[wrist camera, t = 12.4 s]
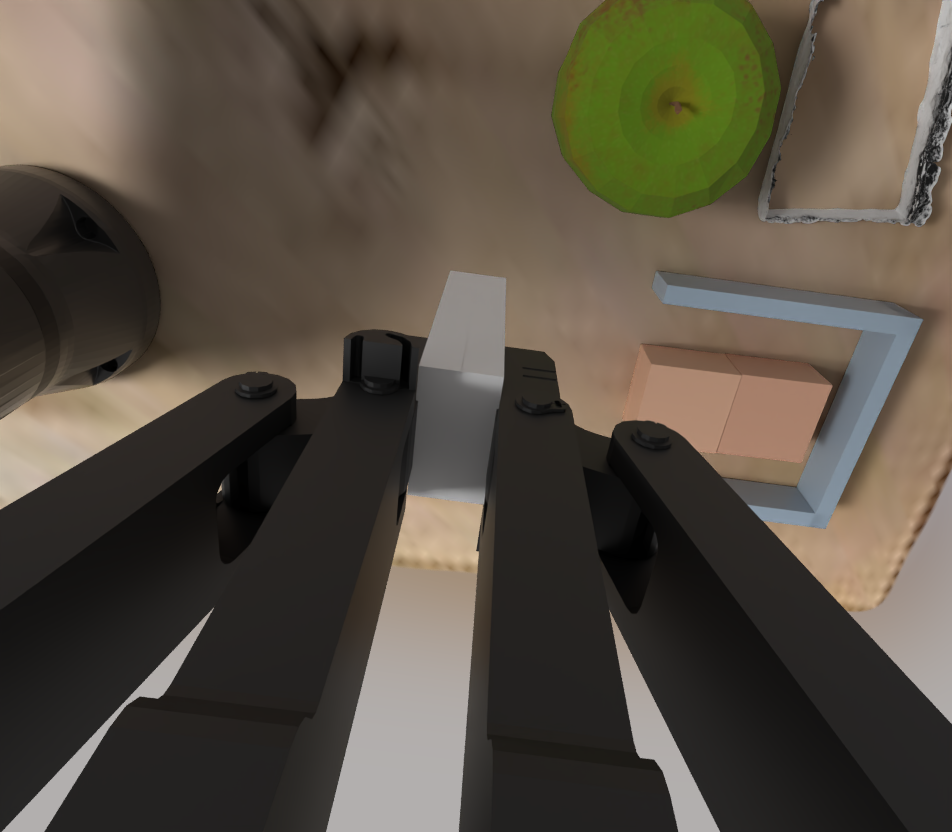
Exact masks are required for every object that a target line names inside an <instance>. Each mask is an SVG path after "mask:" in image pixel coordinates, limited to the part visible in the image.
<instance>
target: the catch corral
mask: <svg viewBox="0 0 952 832" xmlns="http://www.w3.org/2000/svg"><path fill="white" fill-rule="evenodd" d="M652 289H653V291H654V292H655V293H656V295H657V296H658V298H659V299H660V300H661V302H662V303H663V304H670V305H678V306H685V307H692V308H700V309H707V310H715V311H722V312H730V313H737V314H745V315H752V316H760V317H767V318H774V319H782V320H789V321H797V322H804V323H812V324H819V325H827V326H834V327H842V328H849V329H856V330H863V332H862V334H861V337H860V339H859V341H858V344H857V346H856V348H855V351H854V353H853V356H852V358H851V360H850V363H849V365H848V367H847V370H846V372H845V374H844V377H843V379H842V381H841V384H840V386H839V388H838V391H837V393H836V395H835V398H834V400H833V403H832V405H831V407H830V410H829V412H828V414H827V417H826V419H825V421H824V424H823V426H822V428H821V431H820V433H819V435H818V438H817V440H816V443H815V445H814V447H813V450H812V452H811V454H810V457H809V459H808V461H807V464H806V466H805V468H804V471H803V473H802V475H801V478H800V480H799V483H798V485H797V487H791V486H783V485H775V484H768V483H760V482H752V481H745V480H737V479H729V478H723V479H724V480H725V481H726V482H727V483H728V485H729V486H730V487H731V488H732V489H733V490H734V491H735V492H736V493H737V494H738V495H739V496H740V497H741V499H742V500H743V501H744V502H745V503H746V504H747V505H748V506H749V507H750V508H751V509H752V510H753V511H754V512H755V514H756V515H757V516H758V517H759V518H760V519H761V520H762V521H769V522H776V523H784V524H792V525H800V526H807V527H815V528H823V529H826V527H827V525H828V522H829V520H830V518H831V516H832V514H833V512H834V510H835V507H836V505H837V503H838V501H839V499H840V497H841V495H842V492H843V490H844V488H845V486H846V484H847V482H848V480H849V477H850V475H851V473H852V471H853V469H854V467H855V465H856V462H857V460H858V458H859V456H860V454H861V452H862V450H863V448H864V445H865V443H866V441H867V439H868V437H869V435H870V433H871V430H872V428H873V426H874V424H875V422H876V420H877V418H878V415H879V413H880V411H881V409H882V407H883V405H884V403H885V400H886V398H887V396H888V394H889V392H890V390H891V388H892V385H893V383H894V381H895V379H896V377H897V375H898V373H899V370H900V368H901V366H902V364H903V362H904V360H905V358H906V355H907V353H908V351H909V349H910V347H911V345H912V343H913V340H914V338H915V336H916V334H917V332H918V330H919V328H920V325H921V323H922V321H923V319H922V318H920V317H918V316H916V315H915V314H913V313H911V312H909V311H907V310H906V309H904V308H902V307H900V306H898V305H897V304H895V303H892V302H884V301H877V300H870V299H862V298H855V297H847V296H840V295H833V294H825V293H818V292H810V291H803V290H795V289H788V288H781V287H773V286H766V285H758V284H751V283H744V282H736V281H729V280H721V279H714V278H706V277H699V276H692V275H684V274H677V273H669V272H662V271H656V274H655V277H654V281H653V285H652Z"/></svg>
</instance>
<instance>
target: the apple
mask: <svg viewBox="0 0 952 832" xmlns="http://www.w3.org/2000/svg"><path fill="white" fill-rule="evenodd" d="M780 92H781V85H780V79H779V73H778V68H777V62H776V56H775V51H774V45H773V43H772V41H771V39H770V37H769V35H768V33H767V32H766V30H765V28H764V26H763V24H762V23H761V21H760V19H759V17H758V15H757V13H756V12H755V10H754V8H753V6H752V5H751V4H750V3H749V2H748V1H747V0H605V1H604V2H603V3H602V4H601V5H600V6H599V7H598V8H597V9H595V10H594V11H593V12H592V13H591V14H590V15H589V16H588V17H587V18H586V19H585V20H583V21H582V22H581V23H580V25H579V27H578V30H577V32H576V35H575V37H574V39H573V42H572V44H571V47H570V49H569V51H568V54H567V56H566V58H565V60H564V62H563V64H562V66H561V68H560V70H559V72H558V77H557V83H556V90H555V96H554V102H553V108H552V114H551V116H552V120H553V124H554V128H555V131H556V135H557V139H558V142H559V146H560V150H561V154H562V156H563V158H564V159H565V161H566V162H567V163H568V164H569V166H570V167H571V168H572V169H573V171H574V172H575V173H576V175H577V176H578V177H579V178H580V180H581V181H582V182H583V183H584V185H585V186H586V187H587V189H588V190H589V191H590V192H592V193H593V194H595V195H596V196H598V197H600V198H601V199H603V200H604V201H606V202H607V203H609V204H611V205H612V206H614V207H615V208H617V209H619V210H620V211H622V212H627V213H634V214H641V215H648V216H655V217H663V218H670V217H673V216H676V215H679V214H682V213H685V212H688V211H692V210H695V209H698V208H701V207H704V206H707V205H710V204H711V203H713V202H714V201H715V200H717V199H718V198H719V197H720V196H722V195H723V194H724V193H726V192H727V191H728V190H730V189H731V188H732V187H733V186H735V185H736V184H737V183H739V182H740V181H741V180H742V179H744V178H745V177H746V176H747V175H748V173H749V171H750V170H751V168H752V166H753V165H754V163H755V161H756V160H757V158H758V156H759V154H760V153H761V151H762V149H763V148H764V146H765V144H766V142H767V141H768V139H769V137H770V136H771V132H772V128H773V123H774V119H775V114H776V110H777V105H778V101H779V96H780Z"/></svg>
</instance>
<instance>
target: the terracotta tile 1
mask: <svg viewBox="0 0 952 832" xmlns="http://www.w3.org/2000/svg"><path fill="white" fill-rule="evenodd" d="M741 376H742V375H741V374H740V373H739V371H738V370H737V369H736V368H735V367H734V365H733V364H732V363H731V362H730V360H729V359H728V358H727V357H726V355H725V354H719V353H711V352H703V351H695V350H687V349H679V348H671V347H663V346H656V345H648V344H641V345H640V349H639V353H638V357H637V361H636V365H635V369H634V373H633V377H632V381H631V385H630V389H629V393H628V397H627V401H626V405H625V409H624V413H623V417H622V419H623V421H632V420H639V421H646V420H649V421H654V422H655V423H656V424H657V422H658V423H661V424H664V425H665V426H666V427H668V428H670V429H672V430H674V431H676V432H678V433H679V434H680V435H682V436H683V437H684V438H685V439H687V441H688V442H689V443H690V444H691V445H692V446H693V447H694V448H695V449H696V450H697V451H699V452H707V453H715V454H716V451H717V448H718V445H719V442H720V439H721V436H722V433H723V430H724V427H725V424H726V421H727V418H728V415H729V412H730V409H731V406H732V403H733V400H734V397H735V394H736V391H737V388H738V385H739V382H740V379H741Z"/></svg>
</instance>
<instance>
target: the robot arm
mask: <svg viewBox="0 0 952 832" xmlns="http://www.w3.org/2000/svg"><path fill="white" fill-rule="evenodd" d="M505 309H506V278H503V277H495V276H488V275H480V274H473V273H465V272H458V271H451V270H450V273H449V276H448V279H447V282H446V285H445V288H444V291H443V294H442V297H441V300H440V303H439V306H438V309H437V312H436V315H435V318H434V321H433V324H432V328H431V331H430V334H429V337H428V338H424V337H416V336H409V335H405V334H402V333H398V332H393V331H388V330H362V331H358V332H354V333H351V334H349V335H348V336H346V337H345V338H344V356H343V382H342V383H341V385H340V387H339V389H338V390H337V392H336V394H335V396H333V397H328V398H319V399H296V385H295V384H294V383H293V382H291V381H290V380H289V379H287V378H284V377H282V376H279V375H274V374H268V373H267V372H258V373H256V372H247V373H245V374H241V375H235V376H232V377H229V378H227V379H224V380H222V381H220V382H219V383H217V384H215V385H214V386H212V387H210V388H208V389H207V390H205V391H203V392H202V393H200V394H198V395H196V396H195V397H193V398H191V399H190V400H188V401H186V402H184V403H183V404H181V405H179V406H178V407H176V408H174V409H172V410H171V411H169V412H167V413H166V414H164V415H162V416H160V417H159V418H157V419H155V420H153V421H152V422H150V423H148V424H147V425H145V426H143V427H141V428H140V429H138V430H136V431H135V432H133V433H131V434H129V435H128V436H126V437H124V438H123V439H121V440H119V441H117V442H116V443H114V444H112V445H111V446H109V447H107V448H105V449H104V450H102V451H100V452H99V453H97V454H95V455H93V456H92V457H90V458H88V459H87V460H85V461H83V462H81V463H80V464H78V465H76V466H75V467H73V468H71V469H69V470H68V471H66V472H64V473H63V474H61V475H59V476H57V477H56V478H54V479H52V480H51V481H49V482H47V483H45V484H44V485H42V486H40V487H39V488H37V489H35V490H33V491H32V492H30V493H28V494H26V495H25V496H23V497H21V498H20V499H18V500H16V501H14V502H13V503H11V504H9V505H8V506H6V507H4V508H2V509H1V510H0V832H2V831H3V830H4V829H5V827H6V826H7V825H8V824H9V823H10V822H11V821H12V820H13V819H14V818H15V817H16V816H17V815H18V814H19V813H20V811H22V810H23V808H24V807H25V806H26V805H27V804H28V803H29V802H30V801H31V800H32V799H33V798H34V797H35V796H36V795H37V794H38V792H40V791H41V789H42V788H43V787H44V786H45V785H46V784H47V783H48V782H49V781H50V780H51V779H52V778H53V777H54V776H55V775H56V774H57V772H58V771H59V770H60V769H61V768H62V767H63V766H64V765H65V764H66V763H67V762H68V761H69V760H70V759H71V758H72V757H73V756H74V755H75V754H76V752H77V751H78V750H79V749H80V748H81V747H82V746H83V745H84V744H85V743H86V742H87V741H88V740H89V738H91V737H92V736H93V734H94V733H95V732H96V731H97V730H98V729H99V728H100V727H101V726H102V725H103V724H104V723H105V721H107V720H108V718H110V716H111V715H112V714H113V713H114V712H115V711H116V710H117V709H118V708H119V707H120V706H121V705H122V703H124V702H125V700H127V699H128V697H129V696H130V695H131V694H132V693H133V692H134V691H135V690H136V689H137V688H138V687H139V686H140V685H141V684H142V683H143V682H144V681H145V679H146V678H147V677H148V676H149V675H150V674H151V673H152V672H153V671H154V670H155V669H156V668H157V667H158V666H159V665H160V664H161V662H162V661H163V660H164V659H165V658H166V657H167V656H168V655H169V654H170V653H171V652H172V651H173V650H174V649H175V648H176V647H177V646H178V645H179V644H180V642H181V641H182V640H183V639H184V638H185V637H186V636H187V635H188V634H189V633H190V632H191V631H192V630H193V629H194V628H195V627H196V626H197V625H198V623H199V622H200V621H201V620H202V619H203V618H204V617H205V616H206V615H207V614H208V613H209V612H210V611H211V610H212V609H213V608H214V609H213V611H212V613H211V614H210V616H209V618H208V620H207V622H206V623H205V625H204V627H203V629H202V630H201V632H200V634H199V636H198V637H197V639H196V641H195V643H194V644H193V646H192V648H191V650H190V651H189V653H188V655H187V657H186V658H185V660H184V662H183V664H182V666H181V668H180V669H179V671H178V673H177V674H176V676H175V678H174V680H173V681H172V683H171V685H170V686H169V688H168V689H167V691H166V692H165V693H164V695H163V696H161V697H160V698H158V699H155V698H147V697H139V698H137V699H136V700H134V701H133V702H131V703H130V704H128V705H127V706H126V707H125V708H124V709H123V711H122V712H121V713H120V714H119V716H118V717H117V719H116V720H115V721H114V722H113V724H112V725H111V726H110V728H109V729H108V731H107V733H106V734H105V736H104V737H103V739H102V740H101V742H100V744H99V745H98V747H97V749H96V750H95V752H94V753H93V755H92V757H91V758H90V760H89V761H88V763H87V765H86V766H85V768H84V769H83V771H82V773H81V774H80V776H79V777H78V779H77V781H76V782H75V784H74V785H73V787H72V789H71V790H70V792H69V793H68V795H67V797H66V798H65V800H64V801H63V803H62V805H61V806H60V808H59V809H58V811H57V813H56V814H55V816H54V817H53V819H52V821H51V822H50V824H49V825H48V827H47V829H46V830H45V832H326V829H327V825H328V821H329V817H330V813H331V808H332V805H333V801H334V797H335V792H336V789H337V785H338V781H339V776H340V772H341V768H342V764H343V760H344V756H345V752H346V748H347V744H348V740H349V735H350V731H351V728H352V723H353V719H354V715H355V711H356V707H357V703H358V699H359V695H360V691H361V687H362V683H363V679H364V675H365V670H366V666H367V662H368V658H369V654H370V650H371V646H372V642H373V637H374V634H375V630H376V626H377V622H378V617H379V614H380V609H381V605H382V601H383V597H384V593H385V589H386V585H387V581H388V577H389V573H390V569H391V565H392V561H393V557H394V552H395V548H396V544H397V540H398V536H399V532H400V528H401V524H402V520H403V516H404V512H405V504H406V493H407V485H408V494H407V495H414V496H421V497H429V498H437V499H444V500H452V501H460V502H468V503H475V504H483V512H482V518H481V525H480V531H479V537H478V544H477V550H476V551H479V559H478V573H477V587H476V601H475V615H474V630H473V643H472V656H471V670H470V684H469V699H468V713H467V726H466V741H465V754H464V768H463V783H462V797H461V809H460V824H459V832H678V829H677V824H676V820H675V815H674V811H673V806H672V802H671V797H670V794H669V791H668V787H667V784H666V781H665V778H664V775H663V772H662V770H661V769H660V767H659V766H658V765H657V763H656V762H655V760H652V759H643V758H640V757H639V756H638V754H637V752H636V749H635V745H634V742H633V736H632V731H631V726H630V720H629V715H628V709H627V704H626V698H625V693H624V688H623V682H622V678H621V671H620V666H619V661H618V656H617V650H616V645H615V639H614V634H613V628H612V623H611V618H610V612H611V614H612V616H613V618H614V620H615V622H616V624H617V626H618V628H619V630H620V632H621V634H622V636H623V638H624V640H625V642H626V644H627V646H628V648H629V650H630V652H631V654H632V656H633V658H634V660H635V662H636V664H637V666H638V668H639V670H640V672H641V674H642V676H643V678H644V680H645V682H646V684H647V686H648V688H649V690H650V692H651V694H652V696H653V698H654V700H655V702H656V704H657V706H658V708H659V710H660V712H661V714H662V716H663V718H664V720H665V722H666V724H667V726H668V728H669V730H670V732H671V734H672V736H673V738H674V740H675V742H676V744H677V746H678V748H679V750H680V752H681V754H682V756H683V758H684V760H685V762H686V764H687V766H688V768H689V770H690V772H691V774H692V776H693V778H694V780H695V782H696V784H697V786H698V788H699V790H700V792H701V794H702V796H703V798H704V800H705V802H706V804H707V806H708V808H709V810H710V812H711V814H712V816H713V818H714V820H715V822H716V824H717V826H718V828H719V830H720V832H952V724H951V723H950V722H949V721H948V720H947V719H946V718H945V717H944V715H943V714H942V713H941V712H940V711H939V710H938V709H937V708H936V707H935V706H934V705H933V704H932V702H930V700H929V699H928V698H927V697H926V696H925V695H924V694H923V693H922V692H921V691H920V690H919V689H918V688H917V686H916V685H915V684H914V683H913V682H912V681H911V680H910V679H909V678H908V677H907V676H906V675H905V674H904V672H902V670H901V669H900V668H899V667H898V666H897V665H896V664H895V663H894V662H893V661H892V660H891V658H889V657H888V655H887V654H886V653H885V652H884V651H883V650H882V649H881V648H880V647H879V646H878V645H877V643H876V642H875V641H874V640H873V639H872V638H871V637H870V636H869V635H868V634H867V633H866V632H865V631H864V630H863V629H862V628H861V626H860V625H859V624H858V623H857V622H856V621H855V620H854V619H853V618H852V617H851V616H850V615H849V613H848V612H847V611H846V610H845V609H844V608H843V607H842V606H841V605H840V604H839V603H838V602H837V600H836V599H835V598H834V597H833V596H832V595H831V594H830V593H829V592H828V591H827V590H826V589H825V588H824V587H823V585H822V584H821V583H820V582H819V581H818V580H817V579H816V578H815V577H814V576H813V575H812V574H811V573H810V572H809V570H808V569H807V568H806V567H805V566H804V565H803V564H802V563H801V562H800V561H799V560H798V559H797V558H796V556H795V555H794V554H793V553H792V552H791V551H790V550H789V549H788V548H787V547H786V546H785V545H784V544H783V543H782V541H781V540H780V539H779V538H778V537H777V536H776V535H775V534H774V533H773V532H772V531H771V530H770V529H769V527H768V526H767V525H766V524H765V523H764V522H763V521H762V520H761V519H760V518H759V517H758V516H757V515H756V514H755V512H754V511H753V510H752V509H751V508H750V507H749V506H748V505H747V504H746V503H745V502H744V501H743V500H742V499H741V497H740V496H739V495H738V494H737V493H736V492H735V491H734V490H733V489H732V488H731V487H730V486H729V485H728V483H727V482H726V481H725V480H724V479H723V478H722V477H721V476H720V475H719V474H718V473H717V472H716V471H715V470H714V468H713V467H712V466H711V465H710V464H709V463H708V462H707V461H706V460H705V459H704V458H703V457H702V456H701V454H700V453H699V452H698V451H697V450H696V449H695V448H694V447H693V446H692V445H691V444H690V443H689V442H688V441H687V439H685V438H684V437H683V436H682V435H680V434H679V433H678V432H676V431H674V430H672V429H670V428H668V427H666V426H665V425H664V424H661V423H658V422H657V424H656V423H655V422H654V421H649V420H646V421H639V420H632V421H623V422H621V423H619V424H617V425H616V426H615V428H614V430H613V432H612V436H611V438H608V437H605V436H602V435H598V434H595V433H592V432H590V431H587V430H584V429H582V428H580V427H578V426H576V425H575V424H574V419H573V413H572V410H571V408H570V407H569V405H568V404H567V403H566V402H564V401H563V400H561V399H560V393H559V387H558V381H557V375H556V368H555V362H554V361H553V360H552V359H551V358H550V357H549V356H548V355H547V354H546V353H545V352H542V351H534V350H527V349H519V348H511V347H505ZM159 316H160V293H159V286H158V282H157V277H156V274H155V271H154V268H153V265H152V262H151V260H150V258H149V256H148V253H147V252H146V250H145V248H144V246H143V244H142V243H141V241H140V239H139V238H138V236H137V235H136V233H135V232H134V230H133V229H132V228H131V226H130V225H129V224H128V223H127V221H126V220H125V219H124V218H123V217H122V216H121V215H120V214H119V213H118V212H117V211H116V210H115V209H114V208H113V207H112V206H111V205H110V204H109V203H108V202H107V201H106V200H104V199H103V198H102V197H101V196H99V195H98V194H97V193H95V192H94V191H92V190H91V189H89V188H88V187H86V186H85V185H83V184H81V183H79V182H78V181H76V180H74V179H72V178H69V177H67V176H65V175H63V174H60V173H57V172H54V171H51V170H48V169H44V168H40V167H34V166H26V165H8V166H0V420H1V419H2V418H4V417H5V416H7V415H8V414H9V413H11V412H12V411H14V410H15V409H17V408H18V407H20V406H21V405H23V404H24V403H26V402H27V401H29V400H30V399H32V398H34V397H36V396H41V395H47V394H52V393H58V392H63V391H69V390H75V389H80V388H85V387H90V386H94V385H97V384H99V383H102V382H104V381H106V380H109V379H111V378H112V377H114V376H116V375H117V374H119V373H120V372H121V371H123V370H124V369H126V368H127V367H128V366H130V365H131V364H133V363H134V362H135V361H136V360H137V359H139V358H140V357H141V356H142V354H143V353H144V352H145V351H146V349H147V348H148V347H149V345H150V343H151V342H152V339H153V337H154V335H155V332H156V330H157V326H158V322H159ZM408 481H409V483H408ZM221 484H222V490H221V491H220V492H219V493H218V494H217V492H218V490H219V488H220V485H221ZM215 605H216V606H215ZM609 610H610V612H609Z"/></svg>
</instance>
